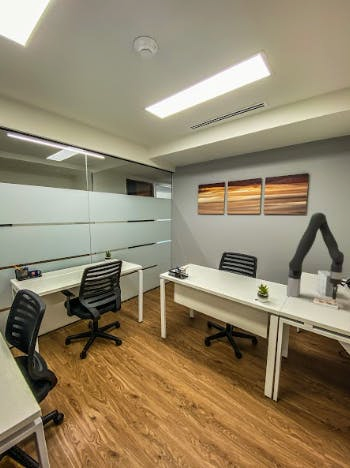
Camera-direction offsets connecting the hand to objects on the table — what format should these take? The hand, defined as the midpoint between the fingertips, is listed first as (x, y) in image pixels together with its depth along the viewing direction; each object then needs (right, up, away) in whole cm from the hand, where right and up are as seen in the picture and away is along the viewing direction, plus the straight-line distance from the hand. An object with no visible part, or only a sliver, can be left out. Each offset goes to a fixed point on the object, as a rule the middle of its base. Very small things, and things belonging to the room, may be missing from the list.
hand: (334, 297), depth 158 cm
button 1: (-10, -6, +3) cm, 12 cm away
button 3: (-3, -5, -3) cm, 6 cm away
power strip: (-8, -8, +1) cm, 11 cm away
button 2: (-7, -6, 0) cm, 9 cm away
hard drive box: (+10, -5, +23) cm, 25 cm away
